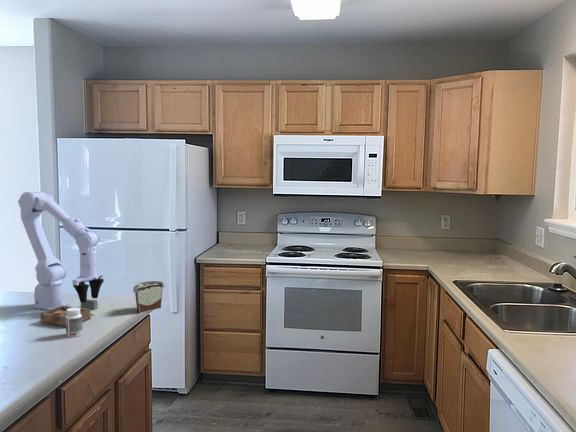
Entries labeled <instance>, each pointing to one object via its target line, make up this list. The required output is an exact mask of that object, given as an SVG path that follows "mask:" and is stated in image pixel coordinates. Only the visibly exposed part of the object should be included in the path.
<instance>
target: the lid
mask: <svg viewBox="0 0 576 432" xmlns="http://www.w3.org/2000/svg"><path fill="white" fill-rule="evenodd" d="M76 307H77V308H85V309H91V316H96V315H98V314H101V313H103V312H105V311H106V312H107V311H108V310H111V309H113V306H112V305H102V304H101V305H100V304H98V300H97V299H89V298H87V301H86V303H82V302H80V305H76Z"/></svg>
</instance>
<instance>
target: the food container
mask: <svg viewBox="0 0 576 432" xmlns="http://www.w3.org/2000/svg"><path fill="white" fill-rule="evenodd" d="M164 288H165V283H164V282H163V281H159V280H149V281H148V280H147V281H140V282H137V283H135V284H134V286H133V289H132V291H133V293H134V294H135V303H136V311H137V313H138V314H143V313H147V312H151V311H155V310H159V309H161V308H162V301H163V289H164Z"/></svg>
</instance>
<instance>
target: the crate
mask: <svg viewBox="0 0 576 432" xmlns="http://www.w3.org/2000/svg"><path fill="white" fill-rule="evenodd" d="M75 307H76V308H77V306H75ZM75 307H74V306H68V305H66V306H60V307H57V308H55V309H52V310H47V311H44V312H41V313H40V325H41V324H42V325H48V326H55V327H63V328H66V315H67V313H66V312H67V309H69V308H75ZM80 314H81V315H82V323H84V322H87V321H89V320H91V319H92V315H91V309H85V308H80Z"/></svg>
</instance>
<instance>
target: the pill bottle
mask: <svg viewBox="0 0 576 432" xmlns="http://www.w3.org/2000/svg"><path fill="white" fill-rule="evenodd" d="M76 307H77V306H75V308H69V309H67V312H66V313H67V315H66V327H65V336H66V337H69V338H76V337H80V336H82V335H83V322H82V315H81V314H80V308H76Z"/></svg>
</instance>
